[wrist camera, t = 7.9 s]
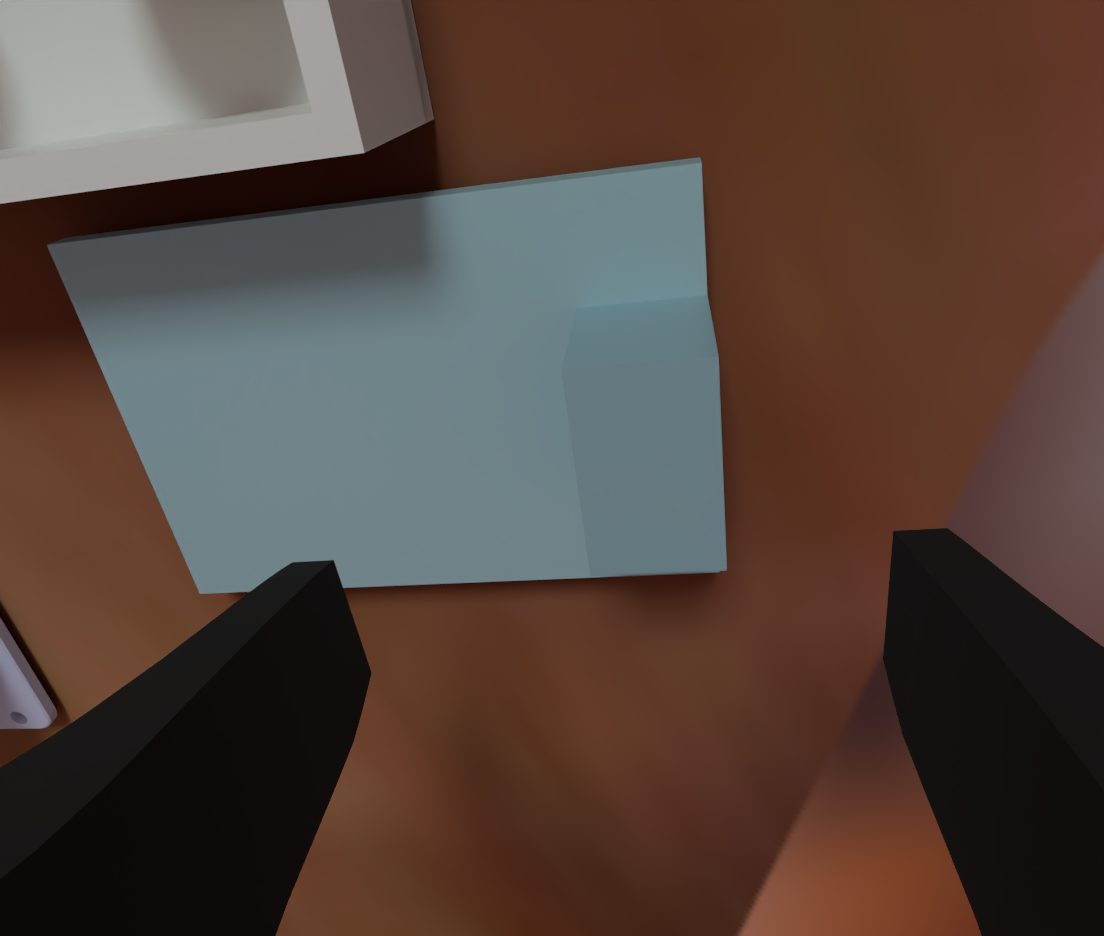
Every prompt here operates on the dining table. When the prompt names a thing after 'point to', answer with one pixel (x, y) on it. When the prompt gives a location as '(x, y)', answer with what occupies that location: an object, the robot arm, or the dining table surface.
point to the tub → (197, 87)
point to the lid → (424, 381)
